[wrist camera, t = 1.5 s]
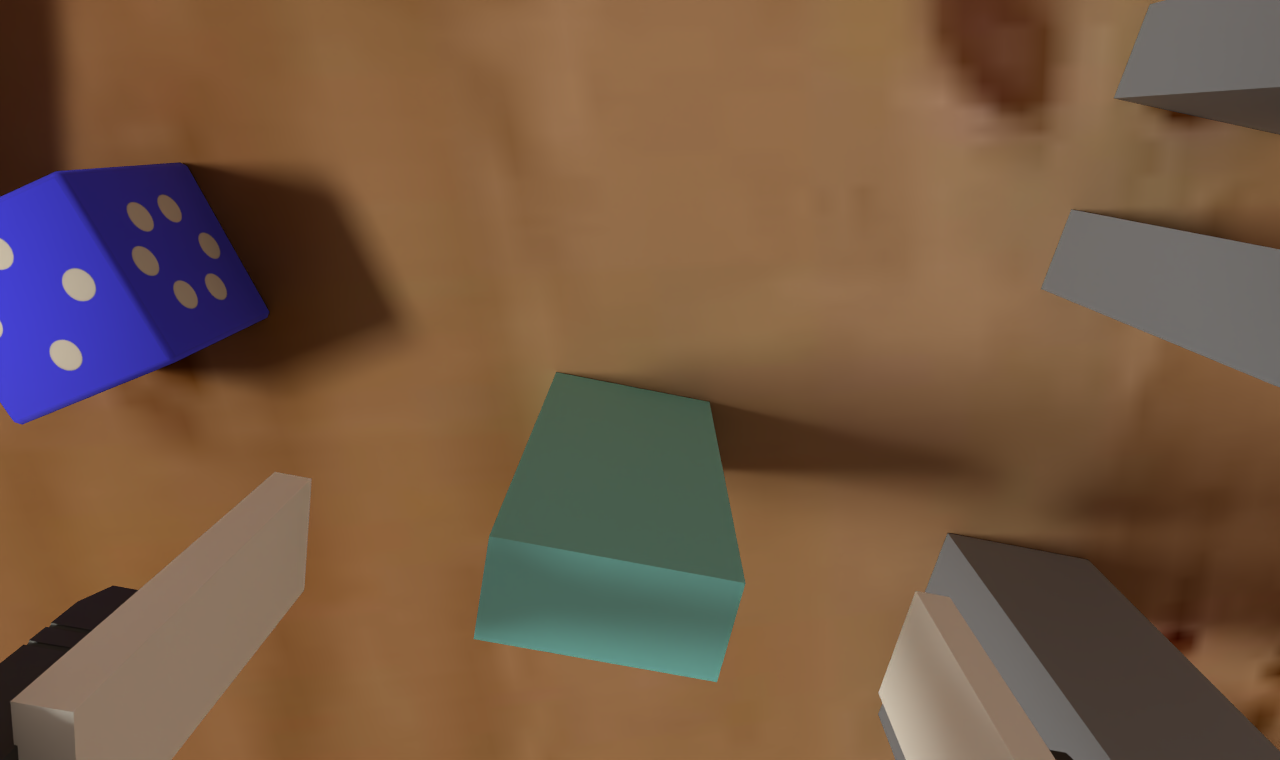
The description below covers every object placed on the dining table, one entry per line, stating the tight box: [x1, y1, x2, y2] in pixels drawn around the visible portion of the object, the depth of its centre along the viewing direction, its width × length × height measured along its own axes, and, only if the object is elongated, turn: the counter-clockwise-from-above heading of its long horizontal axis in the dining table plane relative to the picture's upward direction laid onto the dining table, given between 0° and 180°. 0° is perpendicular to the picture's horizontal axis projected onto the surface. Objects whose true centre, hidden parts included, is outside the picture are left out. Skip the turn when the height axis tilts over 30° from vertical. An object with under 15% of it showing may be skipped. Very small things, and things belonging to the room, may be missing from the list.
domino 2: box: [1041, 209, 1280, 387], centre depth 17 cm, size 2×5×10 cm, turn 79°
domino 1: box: [474, 372, 745, 682], centre depth 19 cm, size 2×5×10 cm, turn 79°
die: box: [0, 163, 269, 424], centre depth 20 cm, size 5×5×5 cm
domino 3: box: [925, 533, 1280, 760], centre depth 21 cm, size 2×5×10 cm, turn 79°
